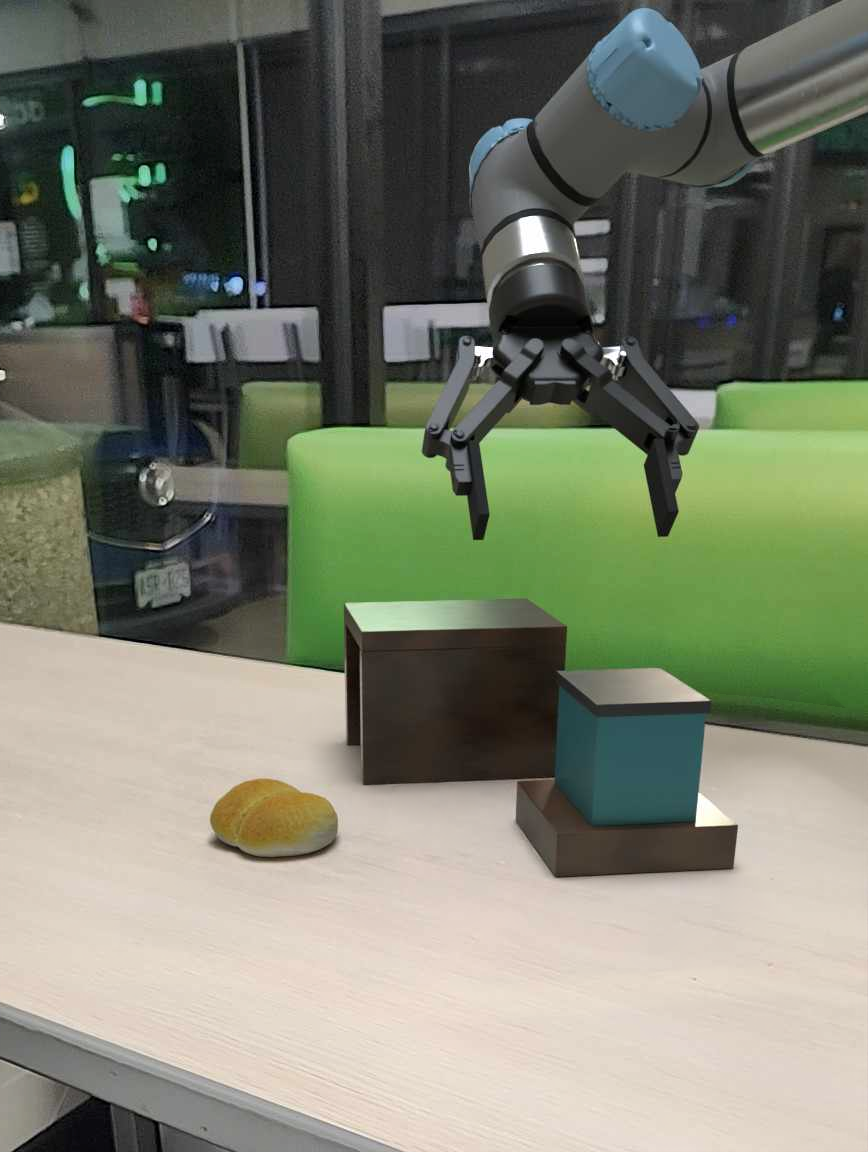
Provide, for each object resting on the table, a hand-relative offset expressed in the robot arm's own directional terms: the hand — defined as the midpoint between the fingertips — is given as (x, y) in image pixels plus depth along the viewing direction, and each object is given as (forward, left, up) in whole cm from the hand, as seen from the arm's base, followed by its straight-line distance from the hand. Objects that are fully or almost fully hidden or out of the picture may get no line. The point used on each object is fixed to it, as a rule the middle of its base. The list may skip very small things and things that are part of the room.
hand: (575, 526), depth 94 cm
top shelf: (+9, -11, -20) cm, 24 cm away
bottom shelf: (-3, +11, -20) cm, 23 cm away
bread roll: (+21, +11, -20) cm, 31 cm away
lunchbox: (-3, +11, -17) cm, 20 cm away
